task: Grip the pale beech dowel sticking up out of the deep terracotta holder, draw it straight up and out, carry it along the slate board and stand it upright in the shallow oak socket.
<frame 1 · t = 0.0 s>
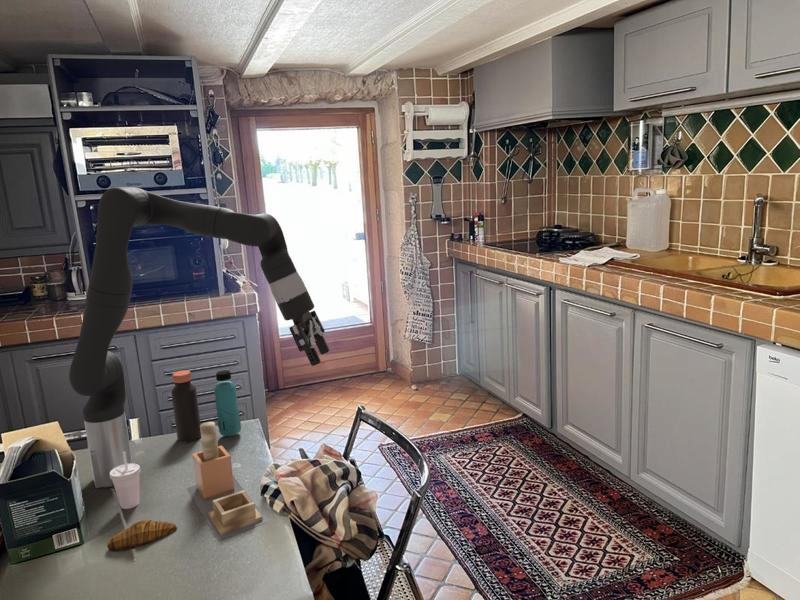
hand: (321, 358, 135), 31 cm above the table, tool tilted 20°, fingers open, 8 cm apart
dowel: (215, 487, 138), point 2 cm above the table, touching deep cup
croissant: (143, 543, 121), on the table
vinegar: (190, 438, 171), on the table
short stand: (235, 517, 126), resting on slate board
beverage bottle: (230, 436, 170), on the table
smoothie: (130, 508, 134), on the table
slate board: (226, 507, 132), on the table
deep cup: (215, 489, 138), resting on slate board
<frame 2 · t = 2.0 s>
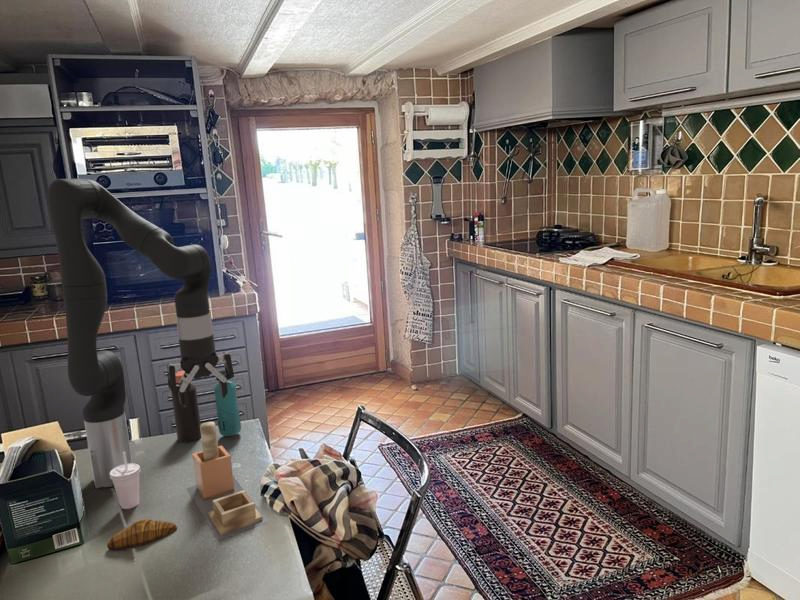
hand: (204, 401, 134), 23 cm above the table, tool pointing down, fingers open, 8 cm apart
nothing on the table moved.
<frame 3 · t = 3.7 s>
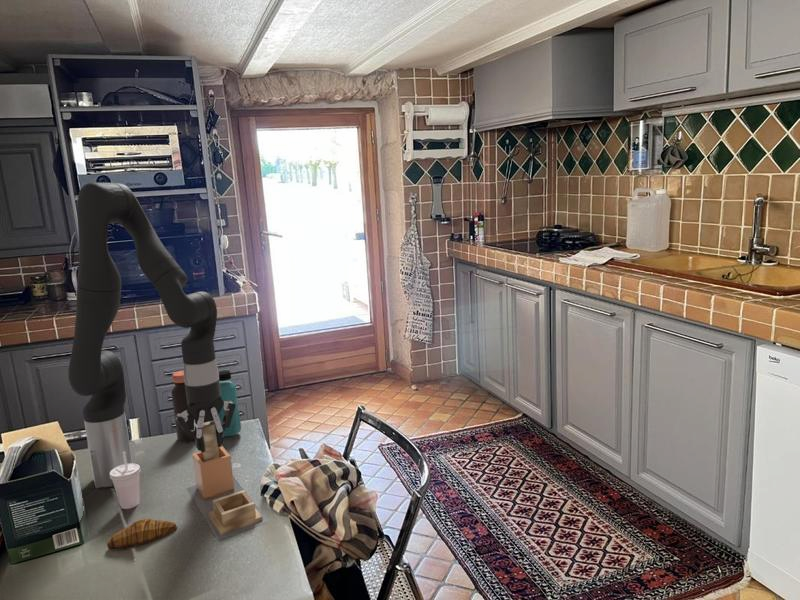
hand: (210, 448, 136), 12 cm above the table, tool pointing down, fingers closed on dowel, 3 cm apart
dowel: (215, 487, 138), point 2 cm above the table, touching deep cup, gripper
everything else where it was.
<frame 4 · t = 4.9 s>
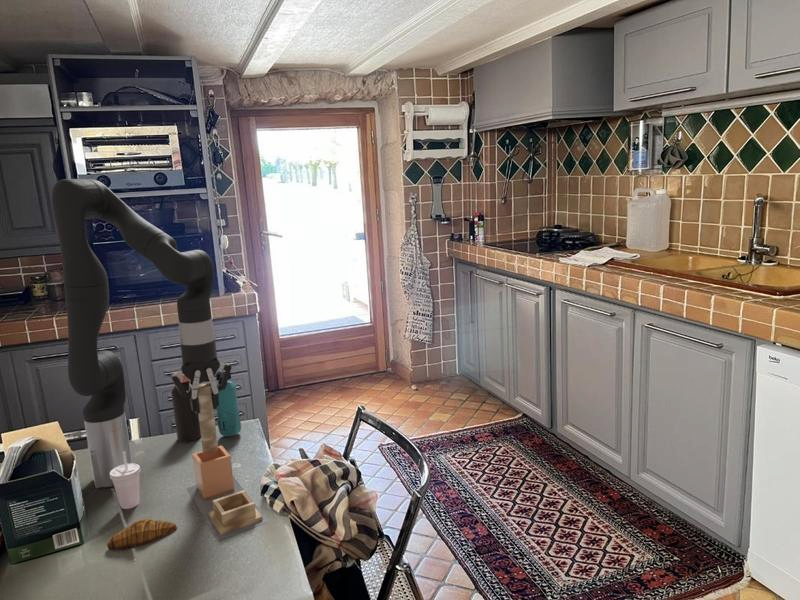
hand: (205, 410, 134), 21 cm above the table, tool pointing down, fingers closed on dowel, 3 cm apart
dowel: (210, 450, 136), point 11 cm above the table, touching gripper
everything else where it was.
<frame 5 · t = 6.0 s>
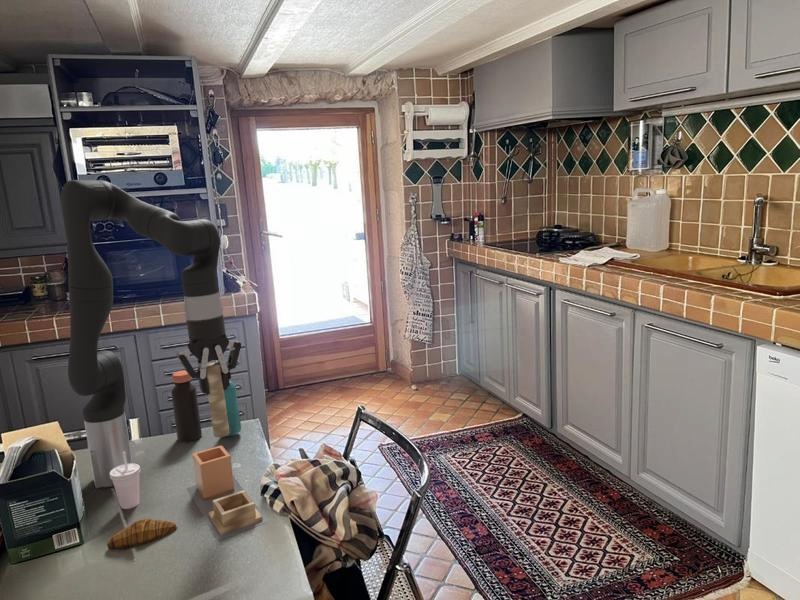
hand: (215, 391, 126), 28 cm above the table, tool pointing down, fingers closed on dowel, 3 cm apart
dowel: (221, 434, 128), point 18 cm above the table, touching gripper
everything else where it was.
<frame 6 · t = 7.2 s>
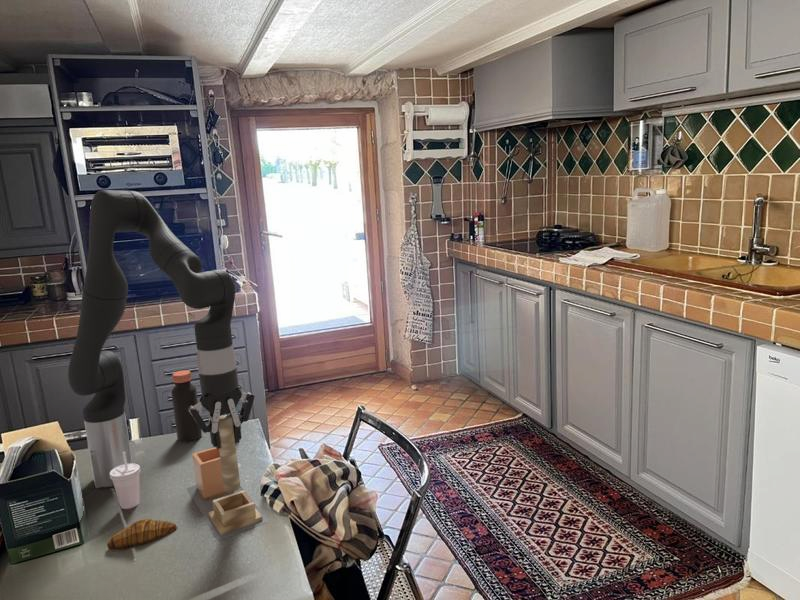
hand: (226, 444, 123), 18 cm above the table, tool pointing down, fingers closed on dowel, 3 cm apart
dowel: (232, 487, 125), point 8 cm above the table, touching gripper
everything else where it was.
when the fingers open (13 cm above the table, at t = 8.4 s): dowel stays where it is, resting on short stand.
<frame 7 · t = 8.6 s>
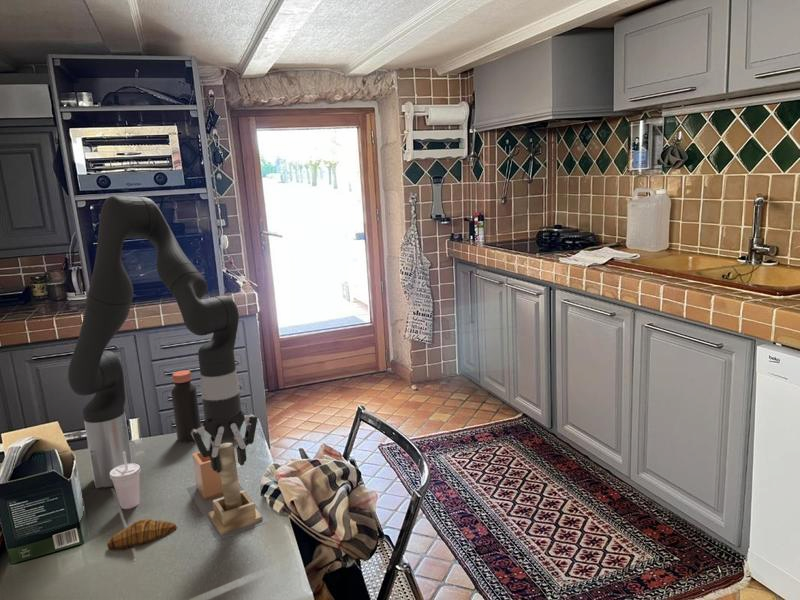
hand: (229, 467, 124), 13 cm above the table, tool pointing down, fingers open, 4 cm apart
dowel: (234, 514, 126), point 2 cm above the table, touching short stand
everything else where it was.
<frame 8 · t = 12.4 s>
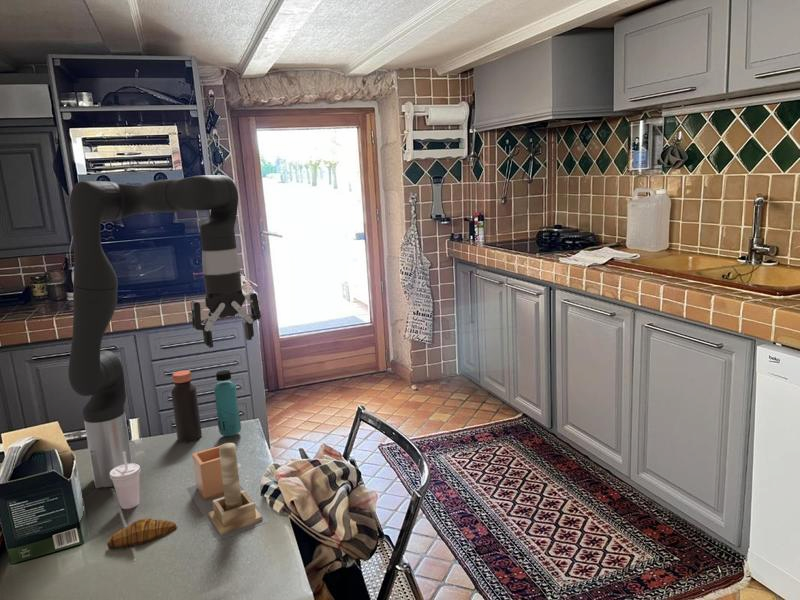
hand: (229, 343, 127), 38 cm above the table, tool pointing down, fingers open, 8 cm apart
nothing on the table moved.
at the end: dowel 0.0 cm off-centre on the short stand, point 0.8 cm above the short stand's base; dowel tilted 0°; the gripper is holding nothing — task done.
